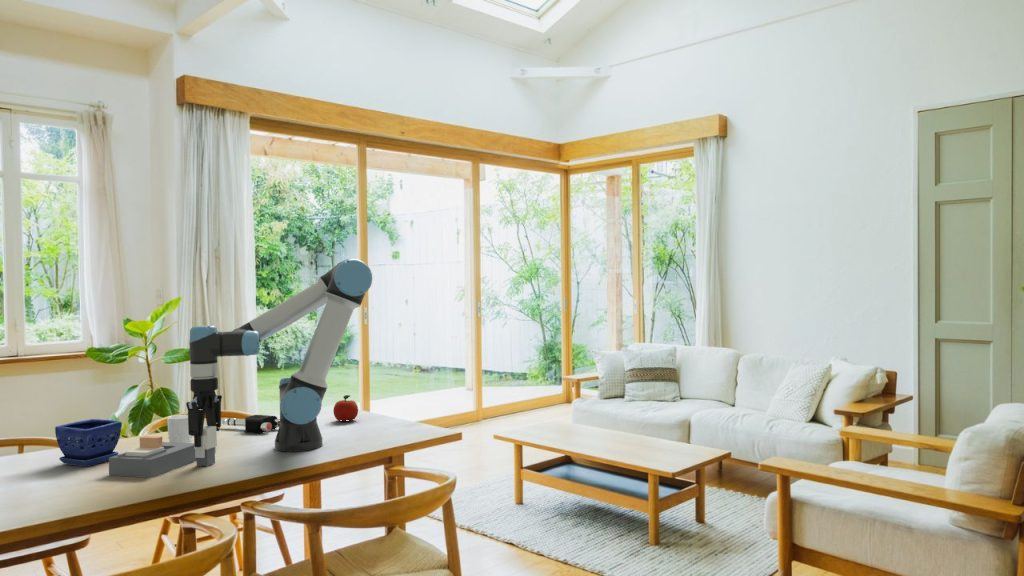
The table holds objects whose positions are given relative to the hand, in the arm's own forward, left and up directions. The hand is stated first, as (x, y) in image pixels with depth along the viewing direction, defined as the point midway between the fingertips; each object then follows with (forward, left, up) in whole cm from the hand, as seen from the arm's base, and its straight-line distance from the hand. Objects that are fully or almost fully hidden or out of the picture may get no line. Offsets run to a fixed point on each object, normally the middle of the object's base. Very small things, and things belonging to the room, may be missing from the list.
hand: (205, 455), depth 206 cm
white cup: (+24, -20, -3) cm, 31 cm away
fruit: (-12, -69, -3) cm, 70 cm away
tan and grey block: (+13, +9, +2) cm, 16 cm away
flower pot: (+38, +3, -3) cm, 38 cm away
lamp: (+18, -48, -3) cm, 51 cm away
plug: (0, 0, -3) cm, 3 cm away
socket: (+13, +5, -3) cm, 14 cm away
